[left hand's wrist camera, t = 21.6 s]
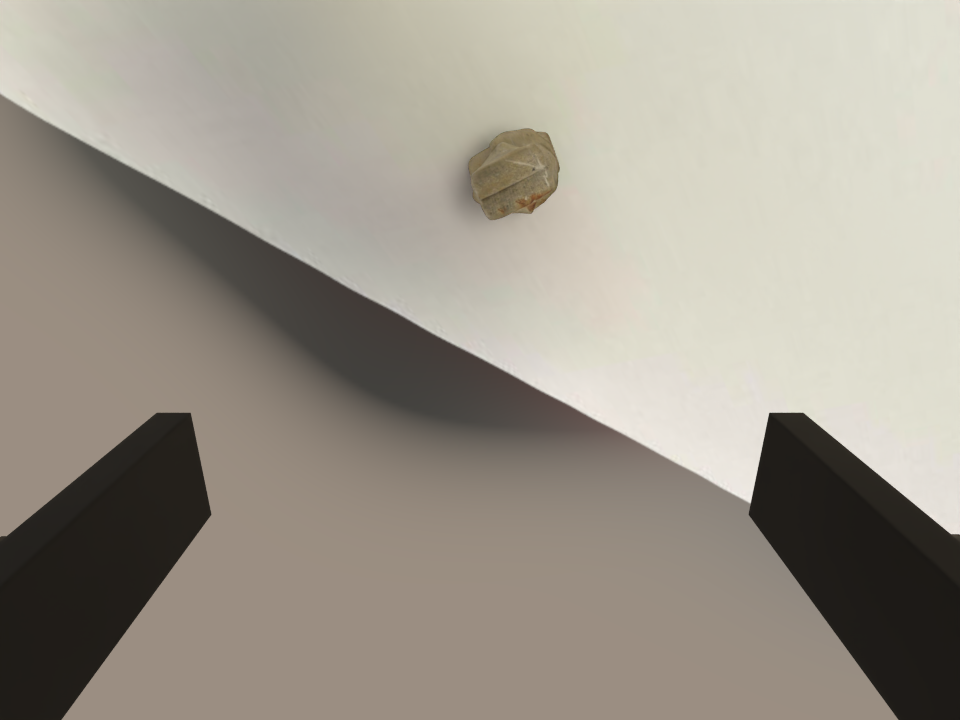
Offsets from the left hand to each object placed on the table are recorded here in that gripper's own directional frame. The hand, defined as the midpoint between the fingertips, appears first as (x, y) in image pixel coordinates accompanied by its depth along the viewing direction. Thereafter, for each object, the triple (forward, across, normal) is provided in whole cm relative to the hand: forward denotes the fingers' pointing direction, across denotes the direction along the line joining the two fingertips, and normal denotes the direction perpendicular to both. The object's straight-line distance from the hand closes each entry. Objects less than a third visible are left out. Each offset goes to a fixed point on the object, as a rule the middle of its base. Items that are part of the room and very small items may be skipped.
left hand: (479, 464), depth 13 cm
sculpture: (+41, -3, -5) cm, 41 cm away
